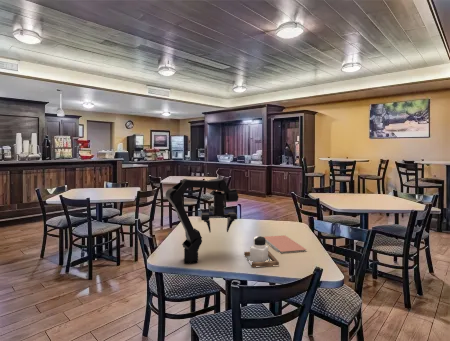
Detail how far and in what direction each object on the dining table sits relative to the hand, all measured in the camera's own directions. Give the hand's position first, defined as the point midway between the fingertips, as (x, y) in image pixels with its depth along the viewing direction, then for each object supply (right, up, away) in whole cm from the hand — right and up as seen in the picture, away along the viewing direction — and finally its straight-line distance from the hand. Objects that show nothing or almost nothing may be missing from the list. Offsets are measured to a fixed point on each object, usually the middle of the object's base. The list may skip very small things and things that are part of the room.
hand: (218, 232), depth 155 cm
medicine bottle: (+21, -14, -4) cm, 25 cm away
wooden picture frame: (+21, -14, -4) cm, 25 cm away
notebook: (+38, -13, +21) cm, 45 cm away
